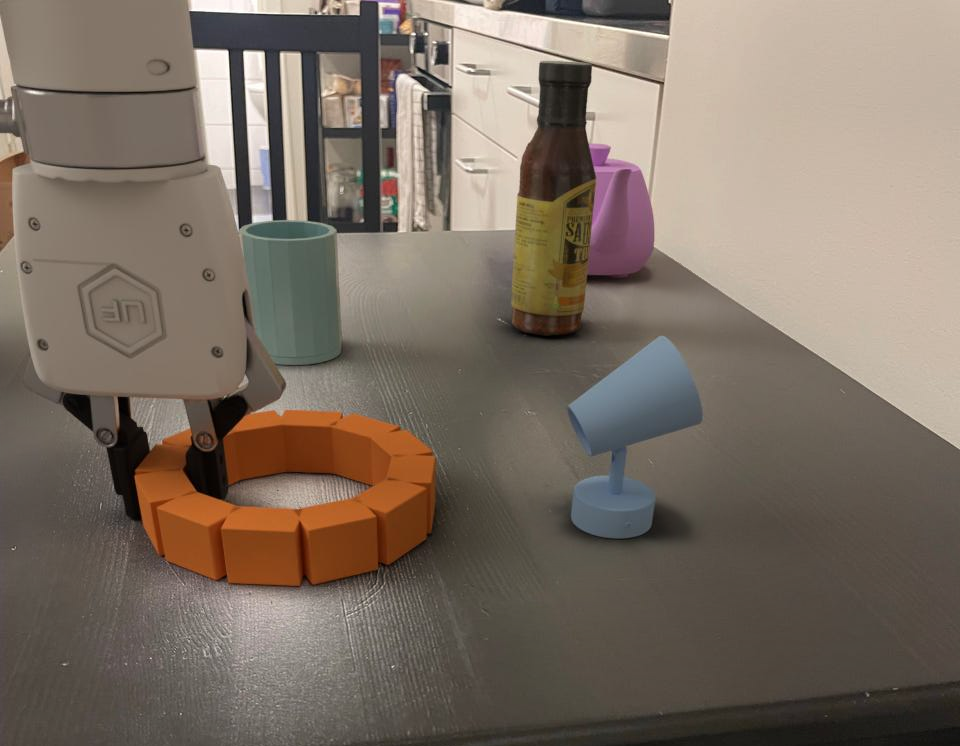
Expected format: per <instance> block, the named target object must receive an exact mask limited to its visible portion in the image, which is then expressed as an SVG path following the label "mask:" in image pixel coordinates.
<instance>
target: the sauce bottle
mask: <svg viewBox="0 0 960 746" xmlns="http://www.w3.org/2000/svg"><path fill="white" fill-rule="evenodd" d="M592 73H593V64H592V63H589V62H581V61H563V60H541V61H539V63H538V85H539V100H538V114H537V117H536V124H537V128H536V130H535V132H534V134H533V136H532V138H531V140H530V141H529V142H528V143H527V145H526V147H525V150H524V151H523V154H522V156H521V161H520V165H519V187H518V192H517V197H516V212H515V213H516V214H515V228H514V229H515V231H514V248H513V249H514V250H513V265H512V278H511V279H512V280H511V299H510V300H511V301H510V304H511V307H512V310H511V313H512V314H511V323H512V325H513V327H514V328H515V329H516V330H518V331H519V332H523V333H526V334H530V335H538V336H543V337H550V336H562V335H569V334H572V333H575V332H576V331H577V332H578V330H579V329H580V326H581V323H582V322H581V321H582V315H583V313H584V309H585V301H586V288H587V281H588V280H587V279H588V275H587V270H588V260H589V250H590V239H591V229H592V218H593V207H594V197H595V187H596V175H595V170H594V166H593V161H592V157H591V152H590V148H589V144H590V143H589V139H588V135H587V128H586V127H587V124H588V123H587V108H588V107H587V106H588V96H589V87H590V86H591V83H592V75H593V74H592Z"/></svg>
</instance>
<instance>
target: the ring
mask: <svg viewBox="0 0 960 746" xmlns="http://www.w3.org/2000/svg"><path fill="white" fill-rule="evenodd" d="M191 436H192V433H191V429H190V428H188V429H185V430H182V431H180V432H177V433H175V434H172V435H171V436H168V437H166V438H163V439H162V440H161V443H159V444H158V443H155V444H154V445H153V446H152V448H151V449H150V452H149V453H148V455H147V456H146V457H145V458H144V460H143V461H142V462H141V464H140V465H139V466H138V467H137V469H136V470H135V472H136V475H135V476H134V477H135V482H136V488H137V493H138V499H139V504H140V510H141V515H140V516H141V520H142V527H143V529H144V530H145V532H146V534H147V536H148V538H149V540H150V542H151V543H152V545H153V547H154V549H155V551H156V553H157V555H158V556H159V557H162V556H164V558H165V561H166V562H169V563H171V564H173V565H177V566H179V567H181V568H183V569H187V570H189V571H192V572H194V573H197V574H199V575H201V576H204V577H207V578H209V579H211V580H214V581H218V580H220V579H222V578H224V577H225V576H227V577H226V578H227V583H228V584H241V585H268V586H288V587H289V586H290V587H291V586H293V587H299V586H300V585H301V583H302V580H303V577H304V575H305V577H306V578H307V579H308V581H309V582H310V584H311V585H317V584H323V583H326V582H331V581H336V580H340V579H343V578H350V577H353V576H357V575H361V574H366V573H369V572H370V573H371V572H375V571H378V570H379V563H380V564H383V565H386V566H390V565H391V564H393V563H394V562H396V561H397V560H399V559H400V558H401V557H403V556H404V555H406V554H407V553H408V552H410V551H411V550H413V549H414V548H416V547H418V545H420V544H421V543H423V542H424V541H426V540H427V536H428V534H432V531H433V523H434V515H435V509H436V466H437V465H436V463H437V462H436V461H437V460H436V459H437V457H436V456H435V455H434V451H433V450H432V449H431V448H430V447H429V446H428V445H426V444H425V443H423V441H421V440H420V439H419V438H417V436H416V435H414V434H413V433H411V432H410V430H408V429H403V430H401V426H400V425H397V424H393V423H390V422H387V421H382V420H378V419H375V418H372V417H368V416H363V415H360V414H357V413H350V414H348V415H346V416H344V413H343V411H331V410H330V411H329V410H325V411H324V410H307V409H306V410H305V409H304V410H303V409H284V411H283V413H282V414H281V415H280V414H278V412H277V411H276V410H274V409H272V410H266V411H259V412H252V413H250V414H248V415H246V416H244V417H243V419H242V420H241V421H240V422H239V423H238V424H237V425H236V426H235V427H234V428H233V429H232V430H231V431H230V432H229V433H228V434H227V435H226V436H225V437H224V438H223V443H224V451H225V459H226V467H227V475H228V487H229V486H231V485H233V484H236V483H237V482H239V481H242V480H247V479H248V480H249V479H253V478H259V477H265V476H270V475H276V474H282V473H286V472H287V473H288V472H289V473H307V474H308V473H311V474H333V475H337V476H340V477H343V478H346V479H349V480H353V481H356V482H359V483H362V484H365V485H369V486H371V487H370V488H368V489H366V490H364V491H362V492H361V493H358V494H357V495H355V496H354V497H351V498H346V499H340V500H335V501H330V502H325V503H321V504H315V505H309V506H306V507H300V508H290V507H289V508H285V507H263V506H260V507H259V506H242V505H241V506H239V505H236V504H233V503H231V502H227V501H225V500H219V499H216V498H213V497H210V496H207V495H204V494H202V493H199V492H197V491H196V490H195V488H194V487H193V485H192V484H191V482H190V481H189V479H188V472H187V465H186V452H187V450H188V449H189V448H190V446H191V445H192V443H191Z"/></svg>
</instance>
